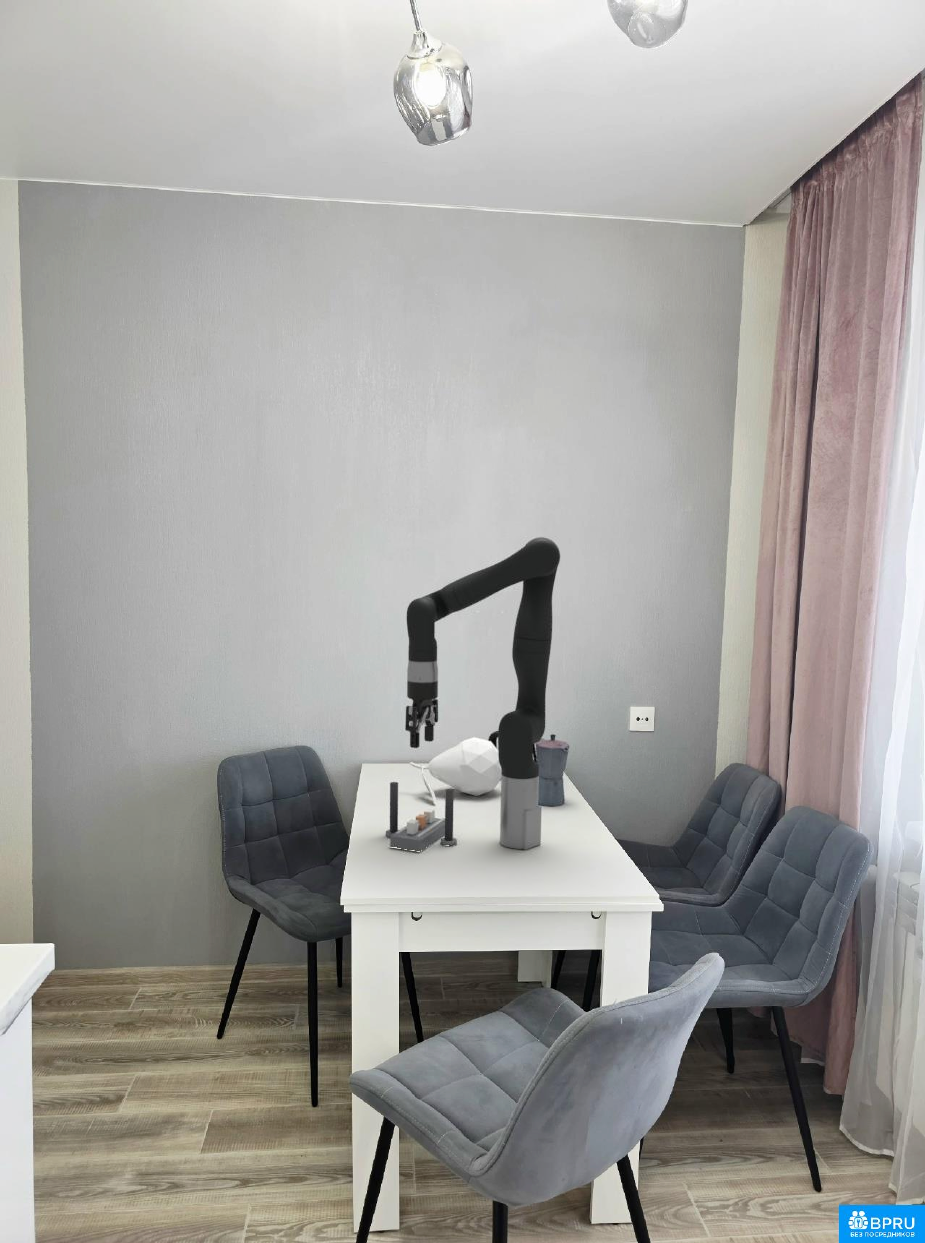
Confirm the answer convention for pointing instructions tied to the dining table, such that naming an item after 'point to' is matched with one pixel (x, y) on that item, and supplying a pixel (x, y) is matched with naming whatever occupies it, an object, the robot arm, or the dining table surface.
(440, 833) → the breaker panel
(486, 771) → the pear ornament
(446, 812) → the dark grey cylinder
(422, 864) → the dining table surface
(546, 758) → the moka pot
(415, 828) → the white and orange bar
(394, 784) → the dark grey lever handle
